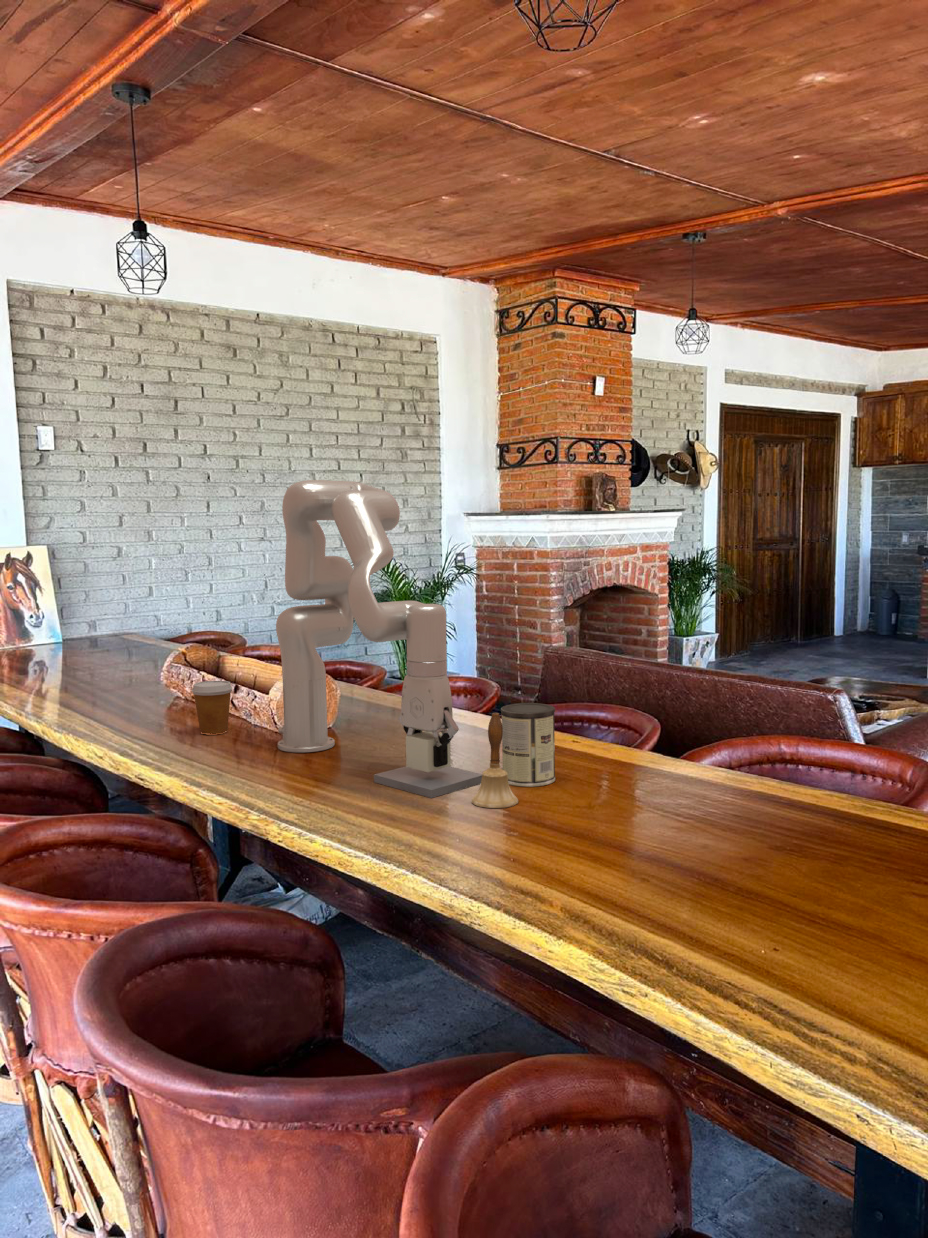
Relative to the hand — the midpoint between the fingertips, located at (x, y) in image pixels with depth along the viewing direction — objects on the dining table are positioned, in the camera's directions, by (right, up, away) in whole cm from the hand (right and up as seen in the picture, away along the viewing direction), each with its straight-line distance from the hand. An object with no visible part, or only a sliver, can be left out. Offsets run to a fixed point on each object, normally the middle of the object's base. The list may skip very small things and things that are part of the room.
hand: (428, 761), depth 180 cm
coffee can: (+19, -4, +1) cm, 20 cm away
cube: (0, -1, 0) cm, 1 cm away
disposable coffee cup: (-53, 0, +47) cm, 71 cm away
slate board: (0, -4, 0) cm, 4 cm away
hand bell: (+12, -5, -13) cm, 19 cm away
